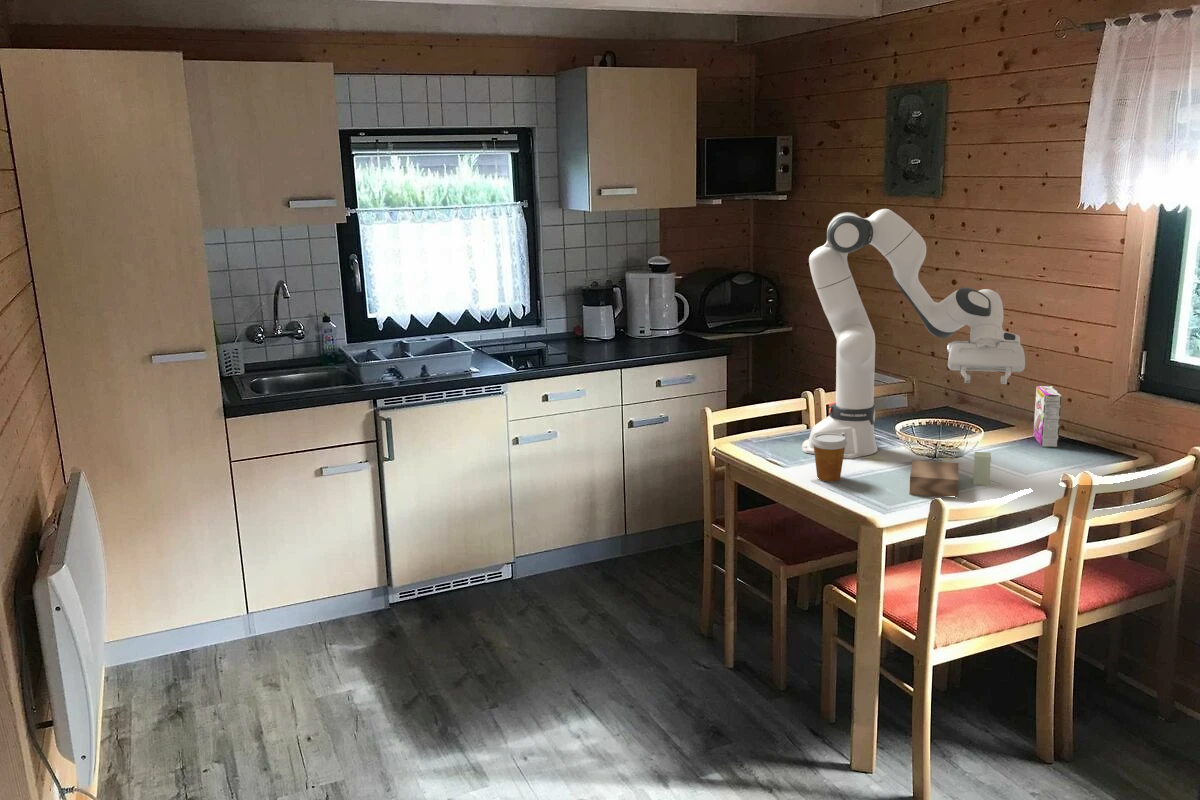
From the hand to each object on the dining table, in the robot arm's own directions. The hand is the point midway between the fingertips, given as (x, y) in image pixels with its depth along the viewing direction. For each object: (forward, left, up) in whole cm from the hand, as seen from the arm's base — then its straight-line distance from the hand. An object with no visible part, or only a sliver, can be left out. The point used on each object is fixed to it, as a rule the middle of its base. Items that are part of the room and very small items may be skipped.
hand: (985, 382), depth 265 cm
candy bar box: (+19, +29, -25) cm, 43 cm away
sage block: (0, -13, -25) cm, 28 cm away
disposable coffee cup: (-40, -19, -25) cm, 51 cm away
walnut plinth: (-12, -20, -25) cm, 34 cm away
